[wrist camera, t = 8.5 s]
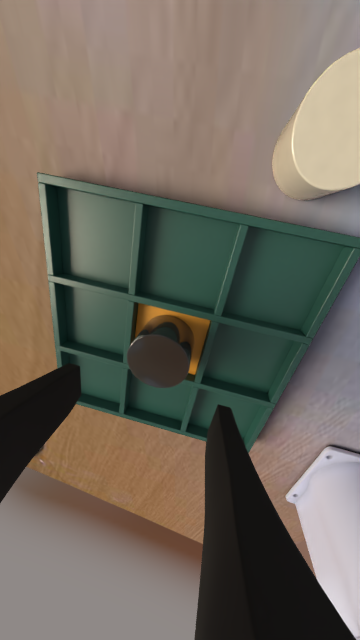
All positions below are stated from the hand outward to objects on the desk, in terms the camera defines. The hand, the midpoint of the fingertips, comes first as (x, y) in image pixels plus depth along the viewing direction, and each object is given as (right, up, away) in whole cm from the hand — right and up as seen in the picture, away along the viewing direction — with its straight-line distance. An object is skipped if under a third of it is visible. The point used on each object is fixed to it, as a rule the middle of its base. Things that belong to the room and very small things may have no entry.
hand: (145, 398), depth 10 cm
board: (+1, +3, +6) cm, 7 cm away
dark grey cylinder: (+1, +2, +6) cm, 6 cm away
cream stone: (+9, +13, 0) cm, 15 cm away
